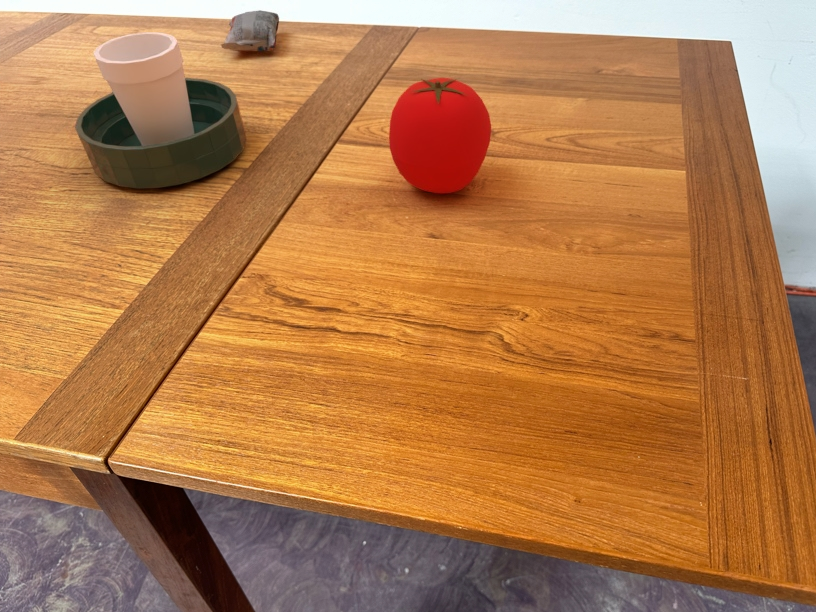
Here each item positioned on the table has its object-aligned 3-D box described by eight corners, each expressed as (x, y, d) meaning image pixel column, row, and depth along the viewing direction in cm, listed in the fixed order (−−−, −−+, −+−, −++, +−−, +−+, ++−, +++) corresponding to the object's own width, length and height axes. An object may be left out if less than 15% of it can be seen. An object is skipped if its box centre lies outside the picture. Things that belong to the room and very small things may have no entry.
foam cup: (215, 154, 86) (185, 51, 76) (142, 174, 82) (101, 70, 73) (197, 124, 92) (166, 26, 82) (127, 142, 88) (88, 42, 79)
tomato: (425, 220, 75) (418, 115, 66) (375, 176, 82) (363, 76, 73) (512, 186, 80) (517, 83, 71) (458, 147, 87) (456, 49, 78)
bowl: (88, 205, 79) (66, 160, 75) (101, 131, 92) (83, 89, 88) (252, 178, 83) (241, 133, 78) (243, 110, 96) (232, 69, 92)
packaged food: (225, 61, 109) (217, 30, 105) (233, 34, 117) (226, 5, 114) (278, 58, 110) (273, 27, 106) (282, 31, 118) (277, 2, 114)
